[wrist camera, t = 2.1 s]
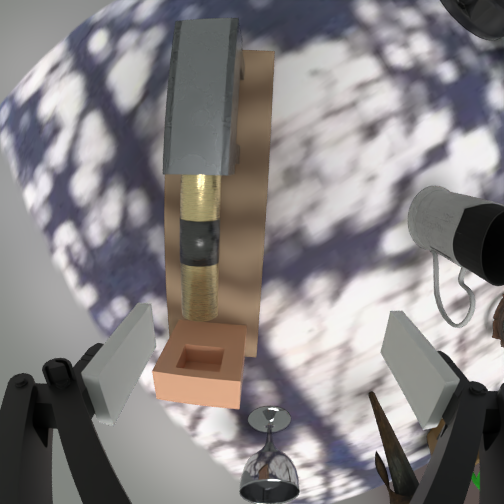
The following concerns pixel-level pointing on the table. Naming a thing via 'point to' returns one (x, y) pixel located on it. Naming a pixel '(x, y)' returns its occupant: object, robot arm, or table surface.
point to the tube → (200, 245)
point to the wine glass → (269, 462)
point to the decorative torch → (393, 460)
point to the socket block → (202, 364)
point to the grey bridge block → (203, 98)
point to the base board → (234, 210)
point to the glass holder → (459, 237)
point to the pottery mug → (499, 322)
